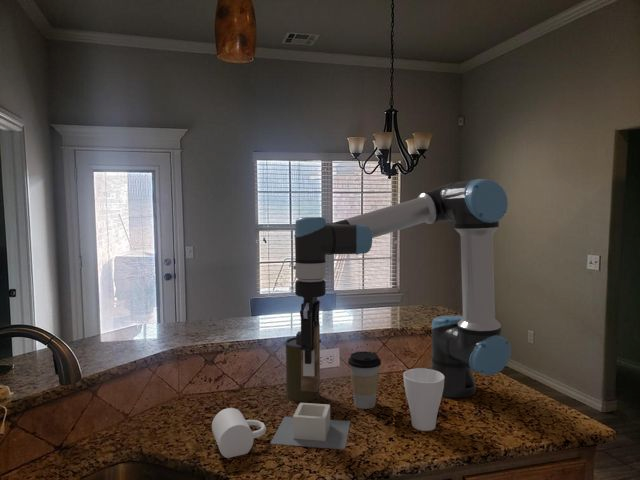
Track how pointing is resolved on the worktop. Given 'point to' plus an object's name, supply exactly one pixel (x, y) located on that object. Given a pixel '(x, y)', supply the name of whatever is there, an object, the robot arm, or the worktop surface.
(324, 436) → the white square holder
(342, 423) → the mat
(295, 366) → the canister
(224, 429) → the mug
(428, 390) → the cup
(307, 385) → the brown wooden block
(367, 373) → the coffee cup
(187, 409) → the worktop surface
